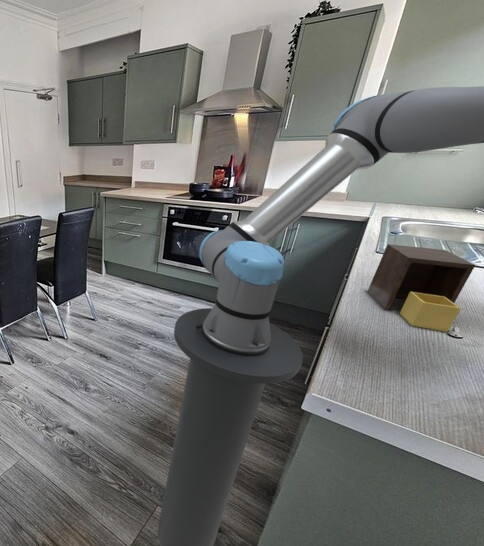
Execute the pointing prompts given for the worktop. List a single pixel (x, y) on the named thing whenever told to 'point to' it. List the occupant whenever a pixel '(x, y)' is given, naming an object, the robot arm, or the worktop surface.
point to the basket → (429, 311)
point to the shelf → (418, 274)
